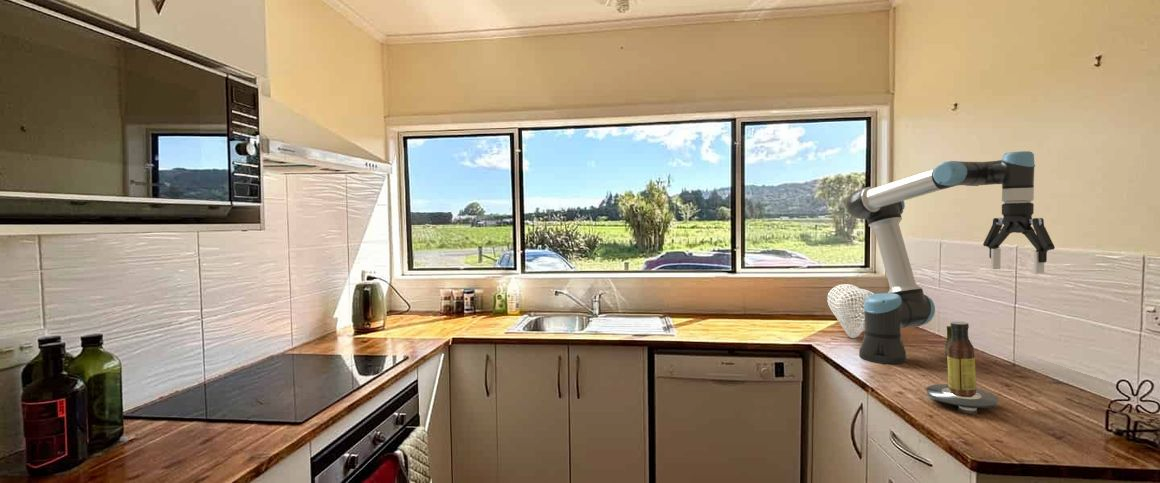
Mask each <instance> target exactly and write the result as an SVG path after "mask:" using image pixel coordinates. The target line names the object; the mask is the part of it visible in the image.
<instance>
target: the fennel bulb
mask: <svg viewBox="0 0 1160 483" xmlns="http://www.w3.org/2000/svg"><path fill="white" fill-rule="evenodd" d="M951 336H952V328H951V325H947V326H946V342H945V347H944V352H945V353H944V354H945V356H946V358H947V355H948V352H947V344H948V343H949V341H950V340H951V338H952V337H951Z"/></svg>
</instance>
